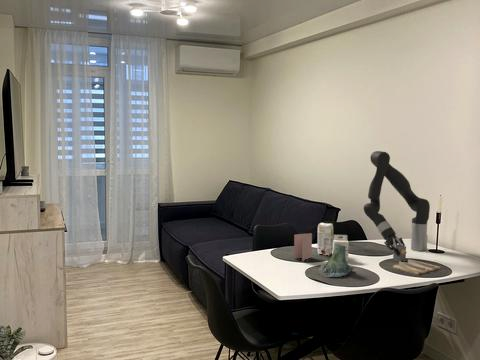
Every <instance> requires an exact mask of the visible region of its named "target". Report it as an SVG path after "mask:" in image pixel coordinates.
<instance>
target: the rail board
mask: <svg viewBox="0 0 480 360" xmlns="http://www.w3.org/2000/svg"><path fill="white" fill-rule="evenodd" d="M392 268H394V269H396V268H397V270H399V269H400V271H403V272H407V273H409V274H413V275H417V276H418V275H421V274H425V273H428V272H433V271H436V270H440V269H441V266H438V265H434V264H431V263H426V262H424V261H419V260H414V259H410V258H409V259H407V262H406V261H403V262H401V261H399V262H398V264H394V265H392Z"/></svg>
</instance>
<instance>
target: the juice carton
mask: <svg viewBox="0 0 480 360" xmlns="http://www.w3.org/2000/svg"><path fill="white" fill-rule="evenodd" d="M333 240H334V224H333V223H327V222H326V223H325V222H320V223H318V225H317V242H316V243H317V248H316V249H317V255H319V254H323V255H322V256H326V255H328V256H330V255H331V256H332V254H333ZM328 256H327V257H328Z"/></svg>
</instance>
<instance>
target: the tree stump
mask: <svg viewBox="0 0 480 360" xmlns="http://www.w3.org/2000/svg"><path fill="white" fill-rule="evenodd" d="M345 247H346V246H343V245H339V244H335V245H334V250H333V251H332V254H331V257H330V258H328V260H327V261H326V262H325V263H324V264H321V265H320V266H319V267H318V269H319V271H320V270H321V272H324V273H327V274H328V275H330V276H332V277H341V276H344V277H346V276H348V275H349V274H350V273H351V272H352V271H353V270H354V267H353V266H352V265H350V264H348V261H346V257H345ZM318 274H320V273H318ZM345 275H346V276H345Z"/></svg>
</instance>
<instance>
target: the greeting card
mask: <svg viewBox="0 0 480 360" xmlns="http://www.w3.org/2000/svg"><path fill="white" fill-rule="evenodd" d="M293 236H294V238H293V241H294V242H293V243H294V244H293V245H294V247H293V259H294V258H301V257H302V259H301V261H303V260H305V259H308V258H310V257H313V256H312V255H313V253H312V250H313V249H312V244H313V242H312V241H313V233H311V232H310V233H299V234H297V233H296V234H294V235H293ZM310 259H311V258H310ZM308 260H309V259H308ZM303 262H304V261H303Z"/></svg>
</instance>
